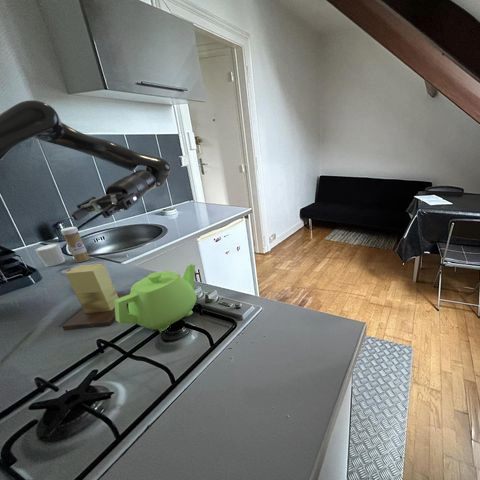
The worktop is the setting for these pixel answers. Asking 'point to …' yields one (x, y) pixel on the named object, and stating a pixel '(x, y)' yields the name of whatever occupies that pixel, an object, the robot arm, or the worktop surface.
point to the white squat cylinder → (50, 254)
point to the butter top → (89, 278)
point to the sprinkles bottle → (75, 244)
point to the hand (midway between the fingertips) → (88, 216)
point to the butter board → (92, 318)
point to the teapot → (158, 300)
